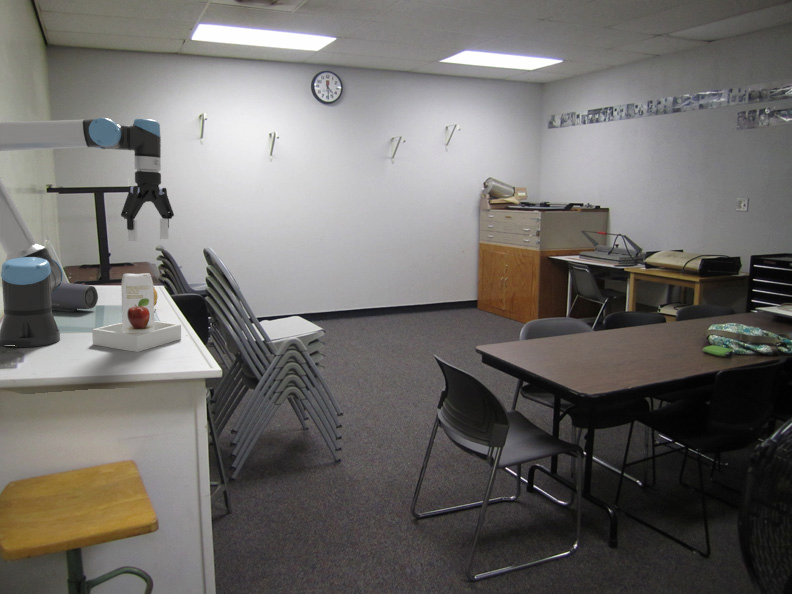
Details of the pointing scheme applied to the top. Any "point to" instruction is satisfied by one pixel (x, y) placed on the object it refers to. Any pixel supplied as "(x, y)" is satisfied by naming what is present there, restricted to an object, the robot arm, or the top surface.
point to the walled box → (136, 336)
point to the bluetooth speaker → (74, 297)
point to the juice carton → (137, 303)
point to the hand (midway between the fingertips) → (149, 239)
